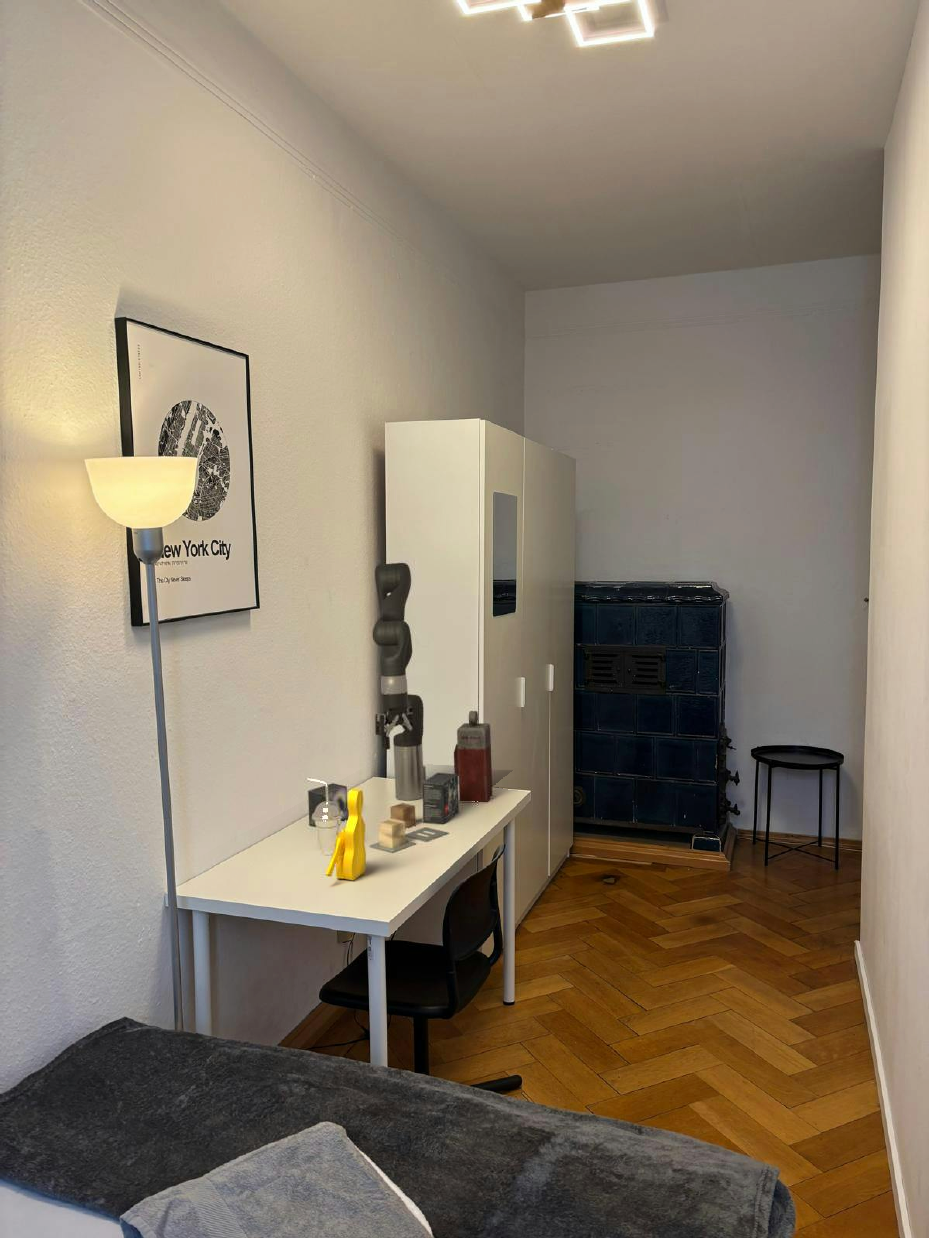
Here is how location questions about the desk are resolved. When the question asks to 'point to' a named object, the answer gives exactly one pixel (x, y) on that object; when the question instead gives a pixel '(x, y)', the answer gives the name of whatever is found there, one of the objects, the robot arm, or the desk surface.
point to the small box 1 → (335, 795)
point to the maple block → (392, 833)
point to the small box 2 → (440, 798)
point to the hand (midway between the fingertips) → (397, 746)
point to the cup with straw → (327, 822)
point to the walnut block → (404, 814)
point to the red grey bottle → (473, 760)
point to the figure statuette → (350, 842)
